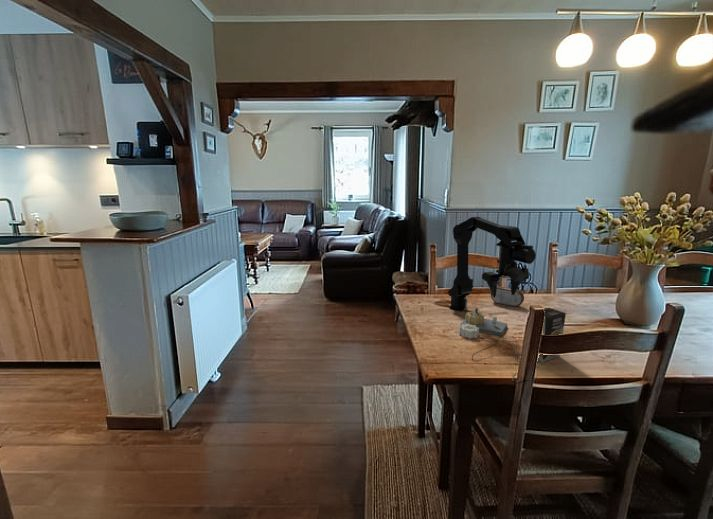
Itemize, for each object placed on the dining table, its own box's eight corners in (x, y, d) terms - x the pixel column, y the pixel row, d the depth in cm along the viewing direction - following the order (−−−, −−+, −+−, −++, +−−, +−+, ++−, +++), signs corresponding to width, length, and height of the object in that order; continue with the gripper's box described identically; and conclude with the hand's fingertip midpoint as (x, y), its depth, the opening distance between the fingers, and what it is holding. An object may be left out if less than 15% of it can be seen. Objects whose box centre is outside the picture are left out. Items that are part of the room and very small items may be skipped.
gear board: (460, 327, 152) (461, 312, 151) (468, 318, 161) (469, 304, 160) (501, 336, 144) (502, 320, 142) (506, 326, 153) (508, 312, 151)
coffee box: (543, 362, 124) (549, 317, 120) (526, 354, 129) (531, 311, 126) (560, 356, 128) (566, 312, 124) (544, 349, 133) (549, 306, 130)
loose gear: (457, 335, 144) (457, 328, 144) (462, 329, 150) (463, 322, 149) (475, 340, 140) (475, 332, 140) (480, 333, 146) (480, 326, 146)
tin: (523, 306, 177) (525, 289, 175) (522, 308, 174) (524, 291, 172) (490, 300, 185) (492, 284, 183) (489, 302, 182) (490, 286, 180)
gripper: (501, 264, 136) (497, 304, 140) (541, 261, 142) (537, 300, 146) (482, 258, 147) (479, 295, 150) (520, 255, 152) (516, 291, 156)
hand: (503, 295), depth 150 cm, fingers open, 9 cm apart
